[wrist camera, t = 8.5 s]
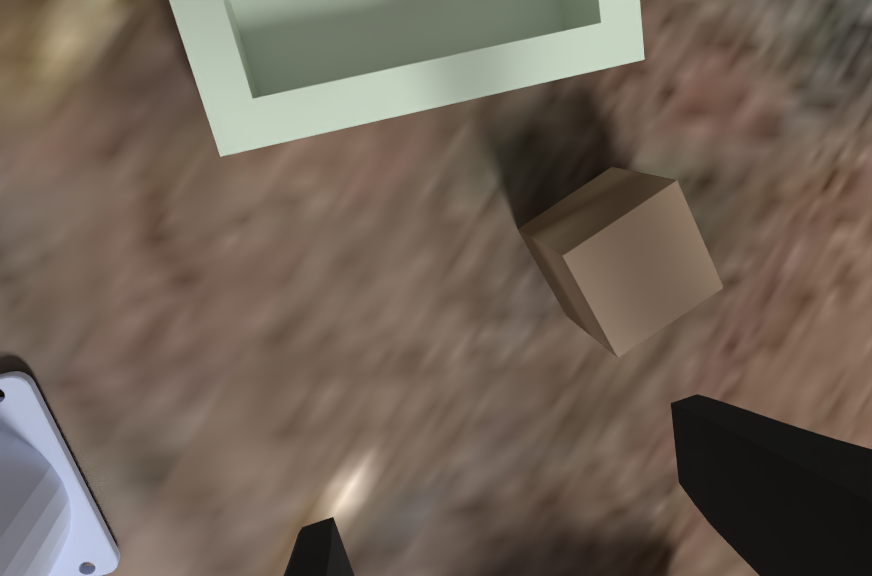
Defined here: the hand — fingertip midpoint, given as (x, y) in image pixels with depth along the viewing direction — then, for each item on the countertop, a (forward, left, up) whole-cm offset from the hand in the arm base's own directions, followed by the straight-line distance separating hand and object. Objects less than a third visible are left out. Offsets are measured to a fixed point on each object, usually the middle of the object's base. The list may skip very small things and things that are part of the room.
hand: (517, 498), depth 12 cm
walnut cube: (+7, +1, -10) cm, 12 cm away
